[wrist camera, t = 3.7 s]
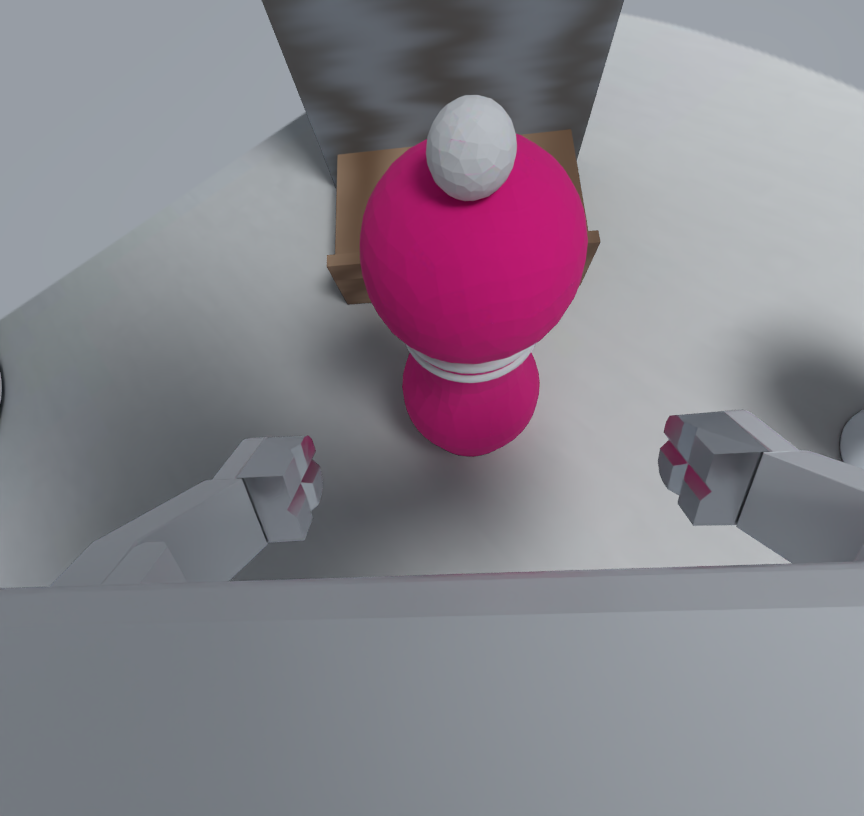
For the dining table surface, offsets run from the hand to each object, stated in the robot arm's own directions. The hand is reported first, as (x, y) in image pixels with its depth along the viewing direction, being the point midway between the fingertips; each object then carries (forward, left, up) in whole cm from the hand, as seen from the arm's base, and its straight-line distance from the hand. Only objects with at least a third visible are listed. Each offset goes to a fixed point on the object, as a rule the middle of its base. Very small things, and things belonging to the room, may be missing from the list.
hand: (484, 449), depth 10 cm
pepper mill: (-2, +5, -16) cm, 17 cm away
